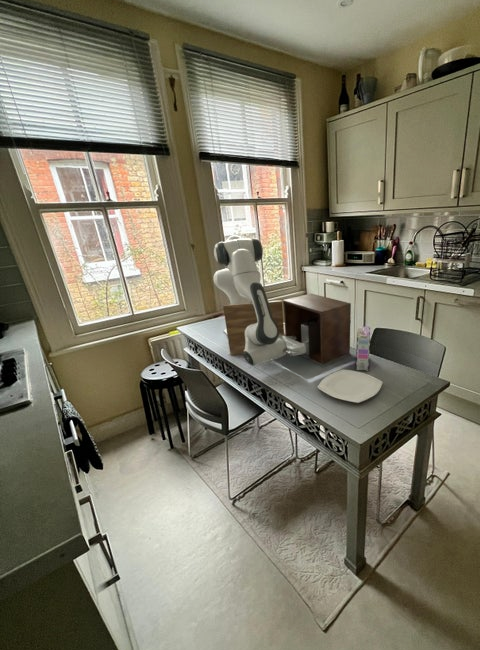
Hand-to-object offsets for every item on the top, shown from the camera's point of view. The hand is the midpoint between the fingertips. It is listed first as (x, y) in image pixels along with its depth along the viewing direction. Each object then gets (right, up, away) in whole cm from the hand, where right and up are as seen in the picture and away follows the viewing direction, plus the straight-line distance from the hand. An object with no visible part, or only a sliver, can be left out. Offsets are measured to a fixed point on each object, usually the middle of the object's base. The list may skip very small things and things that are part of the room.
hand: (301, 340), depth 152 cm
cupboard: (+8, -6, +9) cm, 14 cm away
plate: (+19, -21, -25) cm, 38 cm away
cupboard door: (-23, -5, +15) cm, 28 cm away
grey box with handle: (+6, -6, +7) cm, 11 cm away
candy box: (+28, -12, -5) cm, 31 cm away
